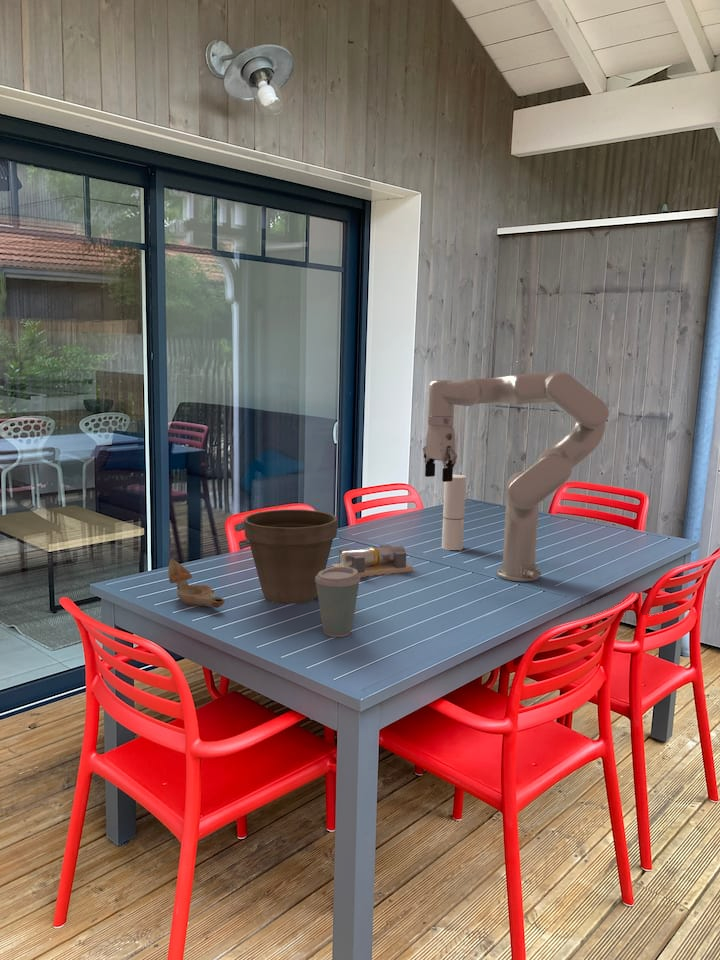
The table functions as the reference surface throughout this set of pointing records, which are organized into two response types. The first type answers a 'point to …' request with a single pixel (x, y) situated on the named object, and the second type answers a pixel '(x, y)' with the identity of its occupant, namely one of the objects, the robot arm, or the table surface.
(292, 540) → the plant pot
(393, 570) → the plate
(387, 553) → the tube
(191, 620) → the table surface
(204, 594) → the oil lamp
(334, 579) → the disposable coffee cup
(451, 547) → the cylindrical container
